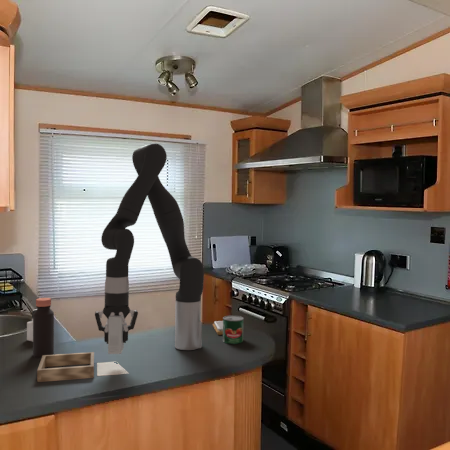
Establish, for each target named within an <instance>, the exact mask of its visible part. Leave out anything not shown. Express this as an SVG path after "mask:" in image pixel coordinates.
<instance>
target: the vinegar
mask: <svg viewBox="0 0 450 450" xmlns="http://www.w3.org/2000/svg"><path fill="white" fill-rule="evenodd" d="M51 306H52V298H51V297H40V298H36V299H35V307H36V309H37V310H36V311H35V312H34V313H33V342H32V357H34V358H36V359H42V356H43V355H55V354H54V352H55V351H54V348H55V346H54V345H55V338H54V337H55V312H54V311H53V310H52V309H51Z"/></svg>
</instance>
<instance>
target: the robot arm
mask: <svg viewBox="0 0 450 450" xmlns="http://www.w3.org/2000/svg"><path fill="white" fill-rule="evenodd" d="M167 156H168V155H167V152H166V150H165V148H164V147H163V146H162V145H161V144H159V143H156V142H155V143H150V144H146V145H143V146H139V147H138V148H136V149H134V151H133V153H132V158H131V160H132V164H133V167H134V169H135V171H136V174H137V176H136V179H135V180H134V181H133V182H132V183H131V185H130V187H129V188H128V189H127V190H126V192H125V193H124V195H123V196H122V199H121V201H120V204H119V206H118V208H117V211H116V213H115V214H114V215H113V217H112V218H111V219H110V221H109V222H108V224H107V225H106V226H105V228H104V229H103V231H102V234H101V239H100V240H101V244H102V246H103V248H105V249H106V250H110V251H116V252H115V255H114V256H113V257H110V258H109V257H108V259H107V260H106V262H105V263H106V264H105V281H104V307H103V309H102V310H99V311H97V310H96V311H95V312H94V318H95V321H96V325H97V328H98V331H100V332H103V333H104V338H103V339H104V343H106V345H108V328H109V316H114V315H119V316H122V325H123V327H124V330H123V343H124V344H126V342H128V341H129V331H130V330H134V329H135V325H136V322H137V318H138V315H139V312H138V310H137V309H130V307H129V304H130V303H129V300H130V297H129V295H130V292H129V291H130V281H129V264H130V260H131V257H132V253H133V249H134V245H135V236H134V234H133V232H132V230H130V229H128V227H132V226H134V225H136V223H137V221H138V219H139V216H140V214H141V211H142V209H143V206H144V204H145V201H146V199H147V198H148V200H149V203H150V206H151V208H152V209H151V210H152V211H153V214H154V217H155V220H156V224H157V225H158V228H159V230H160V233H161V236H162V239H163V241H164V243H165V246H166V248H167V251H168V254H169V258H170V263H171V267H172V271H173V273H174V274H175V277H176V278H177V279H178V280H179V289H178V291H176V293H175V309H174V310H175V311H174V312H175V314H174V315H175V316H174V317H175V319H174V320H175V323H174V324H175V325H174V326H175V327H174V328H175V329H174V347H175V348H176V349H177V350H181V351H194V350H198V349H202V342H203V341H202V339H203V338H202V336H203V334H202V333H203V332H202V331H203V330H202V329H203V327H202V326H203V322H202V321H201V319H202V318H201V312H202V311H201V309H202V306H201V305H202V304H201V303H202V301H201V300H202V295H203V291H204V281H205V280H204V279H205V277H204V276H205V270H204V269H205V268H204V265H203V263H202V261H201V260H200V259H199V258H197V257H194V256H193V255H191V252H190V251H189V250H190V249H189V247H188V245H187V242H186V237H185V222H184V218H183V217H184V216H183V214H182V211H181V209H180V205H179V204H178V202H177V200H176V198H175V197H174V196H173V195H172V194H171V192H169V191H168V189H166V187H165V186H164V185H163V183H162V182H161V180H160V177H159V175H160V173H161V172H162V170H163V169H164V167H165V165H166V162H167V158H168V157H167ZM129 314H130V317H131V320H130V323H129V325H127V321H126V318H127V316H128V315H129ZM103 315H104V316H105V318H106V319H107V320H106V323H105V326H104V325H103V323H102V320H101V319H102V317H103Z"/></svg>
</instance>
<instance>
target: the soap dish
mask: <svg viewBox="0 0 450 450" xmlns="http://www.w3.org/2000/svg"><path fill="white" fill-rule="evenodd" d="M212 327H213V329H214V330H215V332H216V334H217V335H218V336H223V320H218V321H217V320H215V321H214V322H213V323H212Z"/></svg>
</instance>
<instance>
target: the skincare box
mask: <svg viewBox="0 0 450 450" xmlns="http://www.w3.org/2000/svg"><path fill="white" fill-rule="evenodd" d="M123 330H124V327H123V325H122V316H119V315H114V316H109V328H108V344H107V353H108V355H122V352H123V350H124V348H125V343H123Z"/></svg>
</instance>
